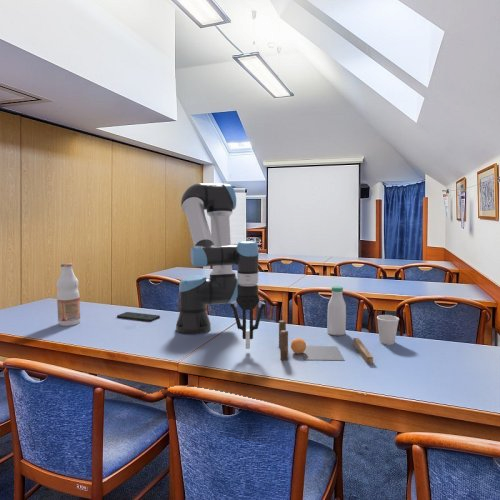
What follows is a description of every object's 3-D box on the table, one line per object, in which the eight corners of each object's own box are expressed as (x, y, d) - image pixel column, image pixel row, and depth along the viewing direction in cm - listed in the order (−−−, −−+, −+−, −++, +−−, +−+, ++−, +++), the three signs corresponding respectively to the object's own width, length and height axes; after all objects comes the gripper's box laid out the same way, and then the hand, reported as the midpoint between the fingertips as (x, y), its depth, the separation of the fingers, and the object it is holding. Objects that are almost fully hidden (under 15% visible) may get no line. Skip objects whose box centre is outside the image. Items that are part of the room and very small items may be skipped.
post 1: (278, 348, 149) (279, 322, 148) (278, 345, 152) (278, 320, 151) (285, 348, 149) (286, 322, 148) (285, 345, 152) (285, 320, 151)
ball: (289, 343, 141) (304, 340, 140) (289, 337, 146) (303, 334, 145) (293, 357, 141) (308, 354, 141) (292, 351, 147) (306, 348, 146)
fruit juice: (53, 325, 178) (50, 264, 175) (67, 320, 187) (64, 262, 185) (72, 327, 176) (69, 265, 174) (84, 321, 186) (82, 262, 183)
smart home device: (150, 319, 184) (116, 315, 191) (150, 323, 185) (116, 318, 192) (160, 315, 192) (127, 311, 199) (160, 318, 192) (127, 314, 199)
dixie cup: (386, 346, 150) (387, 321, 149) (371, 340, 158) (372, 316, 157) (402, 343, 154) (403, 319, 153) (387, 337, 161) (388, 313, 160)
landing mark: (304, 360, 137) (304, 359, 137) (300, 346, 151) (300, 345, 151) (344, 360, 137) (344, 359, 137) (336, 346, 151) (336, 346, 150)
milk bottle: (345, 336, 163) (347, 289, 161) (327, 335, 164) (327, 288, 162) (345, 331, 170) (346, 285, 168) (327, 330, 172) (328, 285, 170)
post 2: (280, 360, 137) (280, 332, 136) (280, 357, 139) (280, 330, 138) (288, 360, 137) (288, 332, 136) (287, 357, 139) (287, 330, 138)
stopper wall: (367, 364, 133) (367, 356, 133) (353, 344, 153) (353, 338, 153) (373, 364, 133) (373, 357, 133) (358, 344, 153) (358, 338, 153)
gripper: (229, 286, 138) (229, 350, 141) (265, 286, 138) (265, 351, 140) (230, 282, 146) (230, 343, 148) (265, 282, 146) (265, 344, 148)
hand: (247, 347), depth 144 cm, fingers closed
